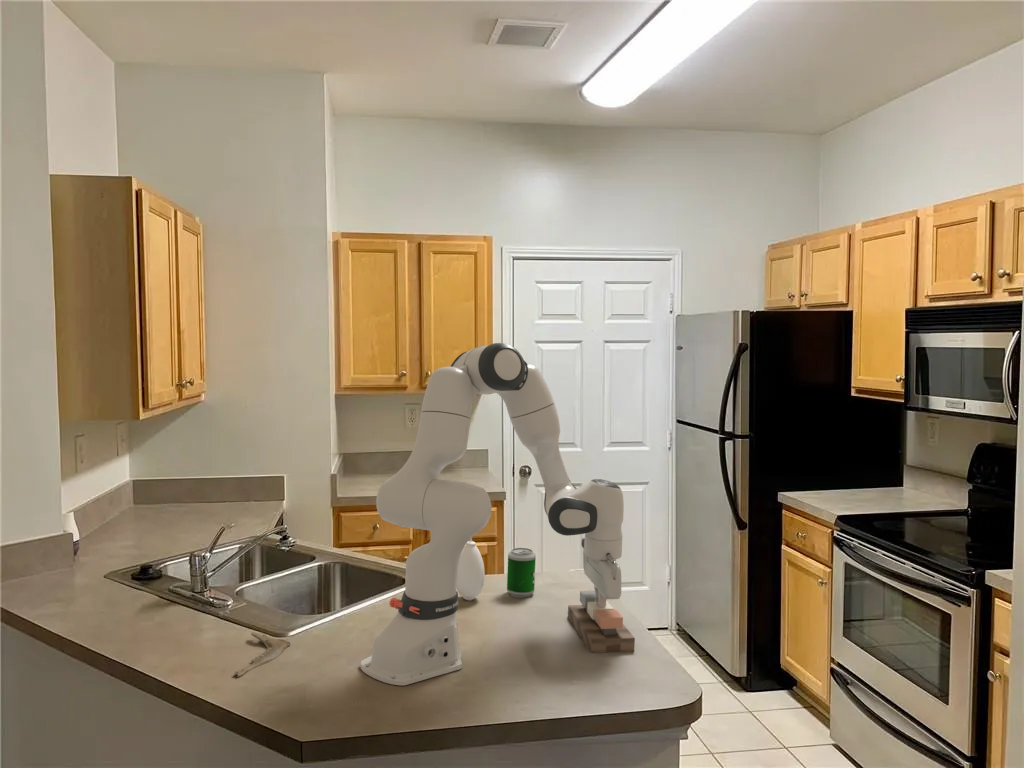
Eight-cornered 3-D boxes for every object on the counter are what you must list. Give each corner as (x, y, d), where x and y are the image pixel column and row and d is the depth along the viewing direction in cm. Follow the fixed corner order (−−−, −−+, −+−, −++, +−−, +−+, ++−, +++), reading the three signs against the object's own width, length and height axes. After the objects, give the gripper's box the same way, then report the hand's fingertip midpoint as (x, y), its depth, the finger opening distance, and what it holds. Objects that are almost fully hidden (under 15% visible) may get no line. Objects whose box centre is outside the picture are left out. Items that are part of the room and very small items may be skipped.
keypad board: (634, 651, 179) (634, 638, 178) (591, 652, 177) (592, 639, 177) (606, 615, 200) (606, 604, 200) (567, 616, 198) (568, 605, 198)
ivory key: (612, 632, 186) (613, 608, 186) (592, 632, 186) (593, 609, 185) (606, 624, 191) (607, 601, 191) (586, 625, 190) (587, 601, 190)
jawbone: (291, 641, 180) (292, 632, 179) (279, 683, 159) (280, 673, 159) (250, 639, 178) (251, 630, 178) (233, 680, 158) (234, 670, 158)
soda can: (531, 600, 210) (533, 555, 209) (504, 597, 212) (505, 553, 211) (536, 591, 217) (538, 548, 217) (509, 588, 219) (511, 545, 218)
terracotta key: (621, 641, 180) (623, 617, 179) (600, 642, 179) (601, 618, 178) (615, 633, 184) (616, 609, 184) (594, 634, 184) (595, 610, 183)
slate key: (604, 620, 193) (605, 597, 193) (584, 620, 192) (585, 597, 192) (598, 612, 198) (599, 590, 198) (579, 613, 197) (580, 591, 197)
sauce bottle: (482, 604, 205) (485, 536, 204) (452, 603, 205) (455, 535, 204) (484, 594, 213) (486, 529, 212) (455, 593, 213) (457, 528, 212)
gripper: (629, 560, 177) (626, 620, 178) (604, 536, 197) (601, 591, 198) (602, 561, 176) (599, 621, 177) (579, 537, 196) (577, 591, 197)
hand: (600, 605), depth 188 cm, fingers closed
